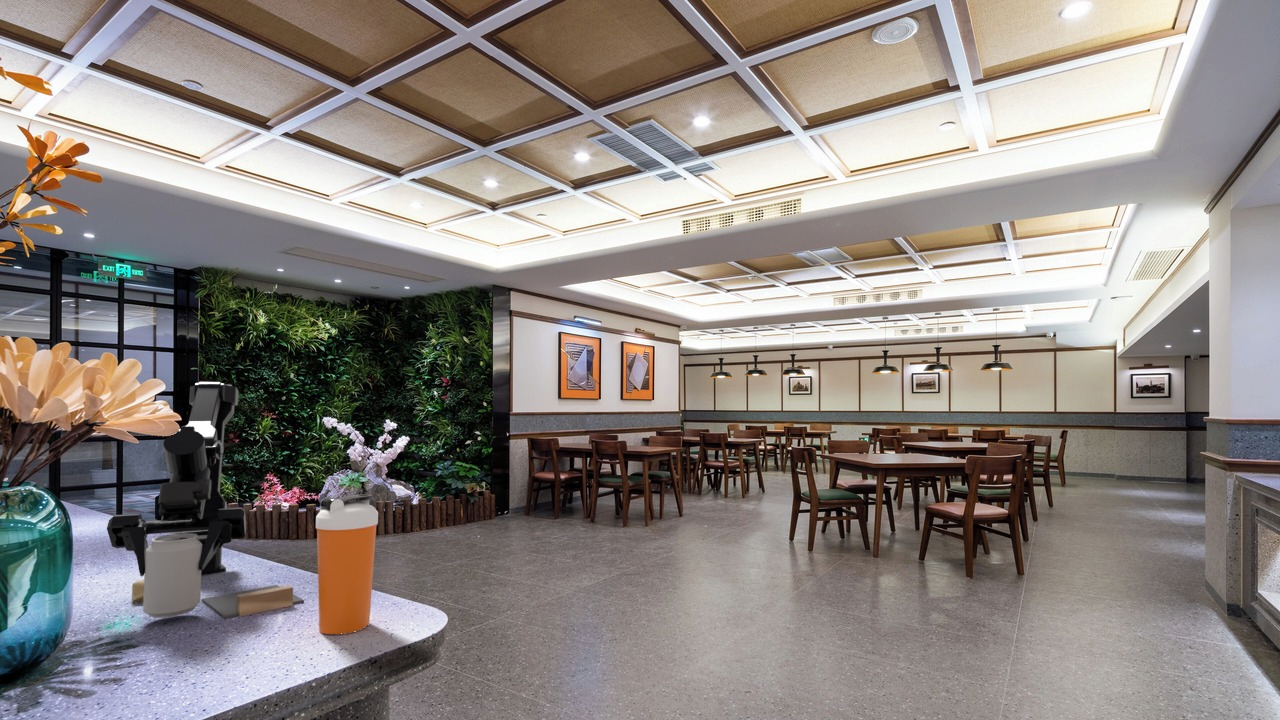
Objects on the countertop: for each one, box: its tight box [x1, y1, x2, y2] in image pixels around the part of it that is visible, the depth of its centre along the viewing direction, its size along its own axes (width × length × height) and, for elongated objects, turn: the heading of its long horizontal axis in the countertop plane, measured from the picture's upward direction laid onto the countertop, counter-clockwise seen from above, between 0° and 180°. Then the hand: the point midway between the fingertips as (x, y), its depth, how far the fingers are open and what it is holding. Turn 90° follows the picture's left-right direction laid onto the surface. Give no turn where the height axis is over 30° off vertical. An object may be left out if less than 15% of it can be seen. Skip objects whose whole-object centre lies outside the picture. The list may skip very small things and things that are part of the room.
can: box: [142, 533, 202, 619], centre depth 106 cm, size 8×8×12 cm
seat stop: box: [236, 585, 294, 617], centre depth 110 cm, size 2×8×3 cm, turn 137°
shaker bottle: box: [315, 493, 379, 635], centre depth 102 cm, size 9×9×20 cm
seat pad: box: [201, 584, 305, 620], centre depth 115 cm, size 14×12×1 cm
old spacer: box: [131, 579, 144, 603], centre depth 117 cm, size 5×5×3 cm
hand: (171, 571), depth 104 cm, fingers closed on can, 7 cm apart
